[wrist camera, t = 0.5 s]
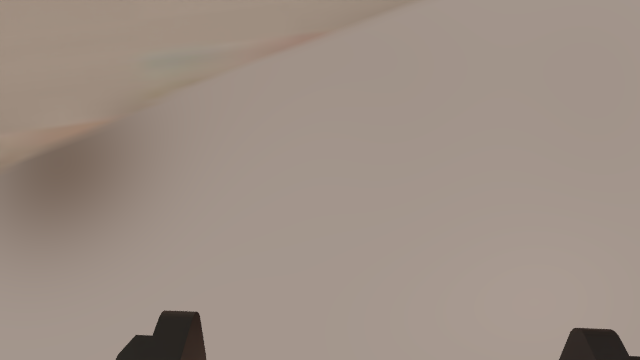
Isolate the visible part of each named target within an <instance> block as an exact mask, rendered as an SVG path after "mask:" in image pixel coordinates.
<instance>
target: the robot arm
mask: <svg viewBox="0 0 640 360" xmlns="http://www.w3.org/2000/svg"><path fill="white" fill-rule="evenodd" d="M116 360H206V353H205V346H204V340H203V333H202V327H201V321H200V315H199V313H198V312H187V311H185V312H184V311H163V312H162V313H161V315H160V317H159V319H158V322H157V325H156V328H155V331H154V333H153V336H145V335H136V336H135V337H134V338H133V339H132V340H131V341H130V342H129V343H128V344H127V345H126V347H125V348H124V349H123V350H122V351H121V352H120V353H119V354H118V356H117V358H116ZM559 360H640V357H637V356H629V355H628V353H627V351H626V349H625V347H624V345H623V343H622V341H621V340H620V338H619V336H618V335H617V333H616V332H615V331H613V330H611V329H588V328H574V329H573V330H572V331H571V332H570V334H569V337H568V339H567V342H566V344H565V347H564V349H563V351H562V354H561V357H560V359H559Z"/></svg>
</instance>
